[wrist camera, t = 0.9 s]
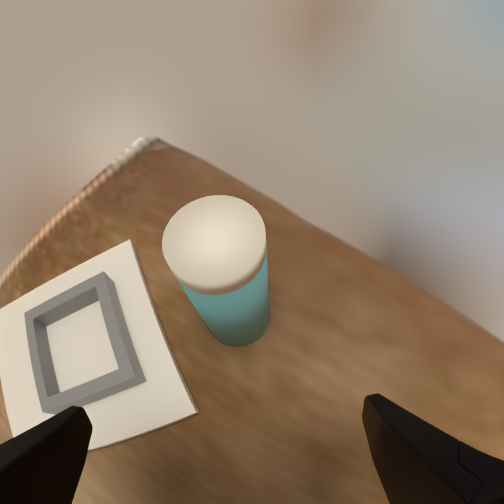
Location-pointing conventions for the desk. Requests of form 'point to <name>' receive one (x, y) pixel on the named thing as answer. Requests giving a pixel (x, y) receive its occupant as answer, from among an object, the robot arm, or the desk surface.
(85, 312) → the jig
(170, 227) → the teal cylinder white cap
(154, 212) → the desk surface
